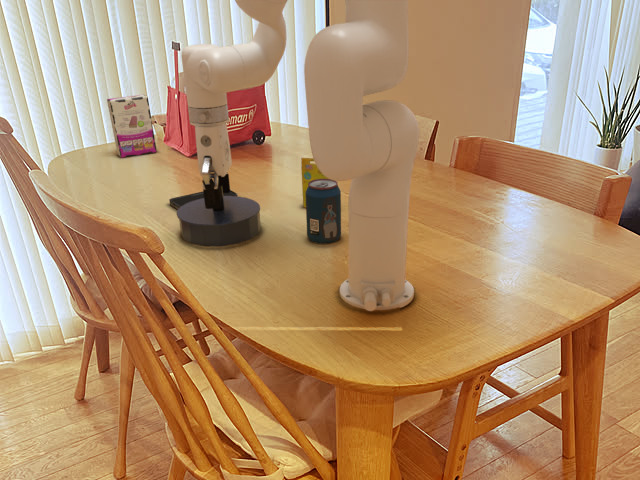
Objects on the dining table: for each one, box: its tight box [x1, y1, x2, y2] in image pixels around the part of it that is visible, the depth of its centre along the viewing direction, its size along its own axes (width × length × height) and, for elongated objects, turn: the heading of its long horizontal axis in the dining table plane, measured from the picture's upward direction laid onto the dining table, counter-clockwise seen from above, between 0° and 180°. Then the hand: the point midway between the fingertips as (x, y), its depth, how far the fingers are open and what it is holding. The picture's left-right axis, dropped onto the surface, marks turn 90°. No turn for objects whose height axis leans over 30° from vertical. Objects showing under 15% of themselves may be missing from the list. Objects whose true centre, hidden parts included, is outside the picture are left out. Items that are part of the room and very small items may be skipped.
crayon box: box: [300, 157, 329, 209], centre depth 143 cm, size 7×3×12 cm, turn 70°
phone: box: [168, 189, 238, 211], centre depth 151 cm, size 8×1×15 cm
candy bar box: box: [106, 94, 158, 159], centre depth 187 cm, size 11×5×16 cm, turn 119°
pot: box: [178, 211, 262, 247], centre depth 132 cm, size 16×16×5 cm
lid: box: [176, 184, 261, 226], centre depth 130 cm, size 17×17×6 cm
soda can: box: [305, 179, 342, 245], centre depth 126 cm, size 7×7×12 cm
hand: (218, 200), depth 129 cm, fingers open, 9 cm apart
